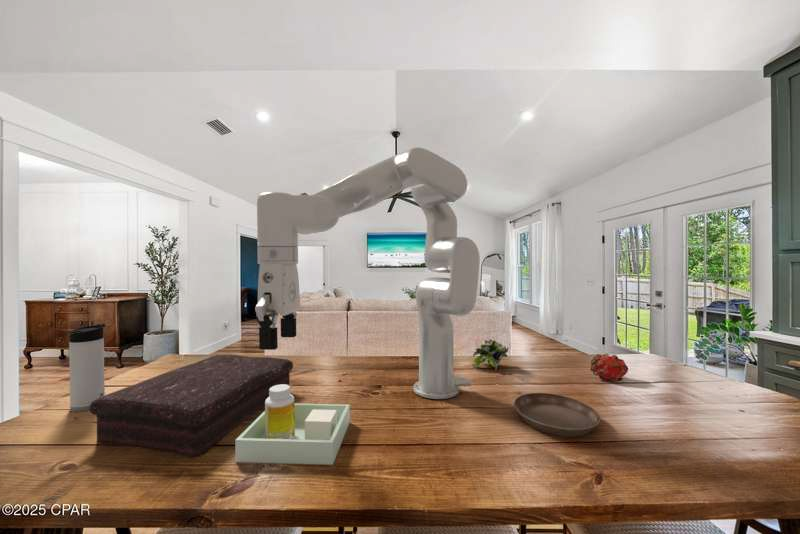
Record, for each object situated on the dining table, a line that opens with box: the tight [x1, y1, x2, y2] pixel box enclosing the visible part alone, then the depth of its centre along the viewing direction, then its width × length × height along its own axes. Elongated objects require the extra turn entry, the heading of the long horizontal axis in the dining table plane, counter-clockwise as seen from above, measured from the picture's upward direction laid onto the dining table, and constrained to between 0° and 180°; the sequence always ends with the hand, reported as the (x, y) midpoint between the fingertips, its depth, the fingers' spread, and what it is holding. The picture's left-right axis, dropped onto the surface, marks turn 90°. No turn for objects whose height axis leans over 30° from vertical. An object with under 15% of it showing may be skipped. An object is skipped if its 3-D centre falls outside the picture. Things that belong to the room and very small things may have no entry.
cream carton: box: [305, 409, 337, 440], centre depth 66 cm, size 5×5×5 cm
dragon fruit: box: [590, 353, 629, 382], centre depth 102 cm, size 8×8×12 cm
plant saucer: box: [513, 392, 601, 438], centre depth 76 cm, size 18×18×3 cm
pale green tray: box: [234, 402, 351, 466], centre depth 66 cm, size 17×15×4 cm
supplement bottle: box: [264, 384, 295, 439], centre depth 67 cm, size 6×6×10 cm
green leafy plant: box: [472, 339, 509, 372], centre depth 113 cm, size 11×11×12 cm
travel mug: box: [68, 323, 106, 413], centre depth 83 cm, size 6×7×20 cm
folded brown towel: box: [89, 354, 294, 459], centre depth 79 cm, size 34×26×10 cm
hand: (279, 342), depth 66 cm, fingers open, 9 cm apart
